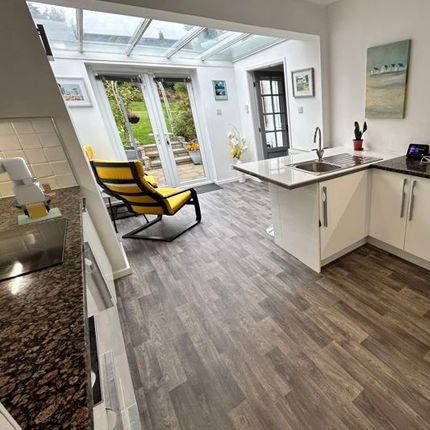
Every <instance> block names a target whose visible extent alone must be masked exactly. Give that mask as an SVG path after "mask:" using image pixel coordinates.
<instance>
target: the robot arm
mask: <svg viewBox="0 0 430 430" xmlns="http://www.w3.org/2000/svg"><path fill="white" fill-rule="evenodd" d="M6 173H7V176H8V177H9V179H10V181H11V183H12V186H11V188H12V192H13V195H14V197H15V198H14V199H13V200H12V201H11V202H10V204H9V206H11V207H13V208H15V209H17V210H21V211H22V212H23V215H24V214H25V216H26V215H27V216H28V217H30V215H29V211H28V209H27V205H32V204H37V203H43V204H45V205H44V207H45V210H47V212H48V213H49V211H50V209H51V208H50V206H49V205H50V204H49V203H50V202H51V200H52V199H53V196H51V195H48V194H46V193H45V192H44V190H43V188H41V185H40V186H39V185H38V183H37V182H38V178H37V177H33V176H32V173H31V171H30V169H29V167H28V165H27V163H26V161H25V159H24V158H23V157H20V156H15V157H0V175H1V174H6ZM34 181H37V182H34ZM45 197H48V198H49V199H48V200H47V201H45V200H46V198H45ZM17 203H18V204H17Z"/></svg>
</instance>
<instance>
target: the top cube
mask: <svg viewBox="0 0 430 430" xmlns="http://www.w3.org/2000/svg"><path fill="white" fill-rule="evenodd" d="M26 209H27V211H28V213H30V215H31V217H32V219H33V218H37V217H42V216H46V215H48V214H47V212H46V208H45V206H44V205H43V203H42V202H37V203H32V204H27V205H26Z"/></svg>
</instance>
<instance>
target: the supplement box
mask: <svg viewBox="0 0 430 430" xmlns="http://www.w3.org/2000/svg"><path fill="white" fill-rule="evenodd" d="M40 185H41V186H42V189H43V191H44V193H45V194H49V193H54V191H53V190H52V187H51V184H50V183H49V182H48V181H47V182H41V183H40Z"/></svg>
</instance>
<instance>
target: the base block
mask: <svg viewBox="0 0 430 430" xmlns="http://www.w3.org/2000/svg"><path fill="white" fill-rule="evenodd" d="M48 195H51V196H53V199H52V200H51V202H50V203H49V205H51V204H57V203H60V201H59V199H58V196H57V193H56V192H53V193H49V194H48ZM45 198H46V200H45V201H47V200H48V199H49V198H48V197H45ZM43 205H45V204H43Z"/></svg>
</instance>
